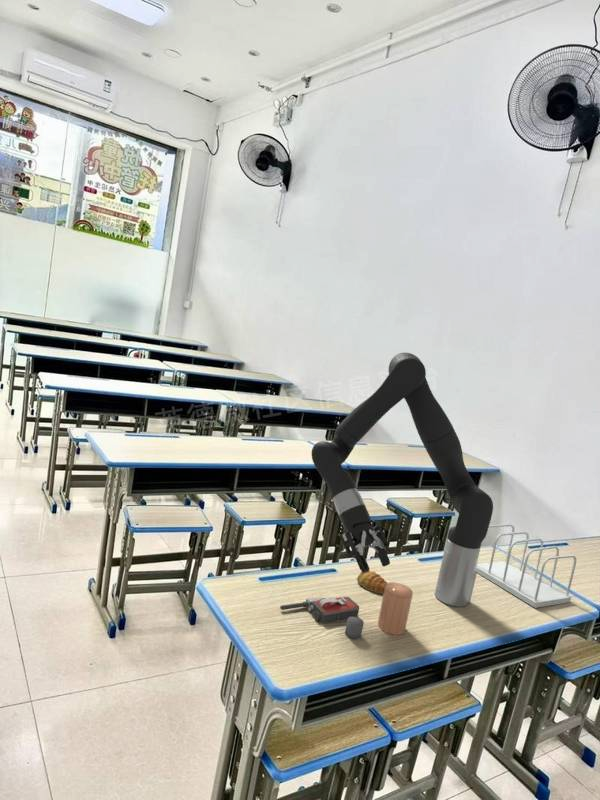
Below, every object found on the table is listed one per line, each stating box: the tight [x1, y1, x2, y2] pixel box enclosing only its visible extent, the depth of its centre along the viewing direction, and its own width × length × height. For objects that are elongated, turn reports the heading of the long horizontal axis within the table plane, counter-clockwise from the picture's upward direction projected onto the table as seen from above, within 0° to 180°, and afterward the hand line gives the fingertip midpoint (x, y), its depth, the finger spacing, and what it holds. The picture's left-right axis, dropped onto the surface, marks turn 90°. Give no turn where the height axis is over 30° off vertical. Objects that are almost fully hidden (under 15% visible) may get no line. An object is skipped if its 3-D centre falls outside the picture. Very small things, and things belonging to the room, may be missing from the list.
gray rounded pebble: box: [344, 616, 364, 640], centre depth 128 cm, size 4×4×4 cm
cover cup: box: [377, 582, 414, 636], centre depth 134 cm, size 7×7×10 cm
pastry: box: [356, 569, 388, 595], centre depth 154 cm, size 9×7×4 cm
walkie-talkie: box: [279, 596, 360, 624], centre depth 135 cm, size 9×4×20 cm
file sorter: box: [475, 523, 577, 609], centre depth 172 cm, size 25×17×16 cm
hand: (376, 568), depth 138 cm, fingers open, 8 cm apart
